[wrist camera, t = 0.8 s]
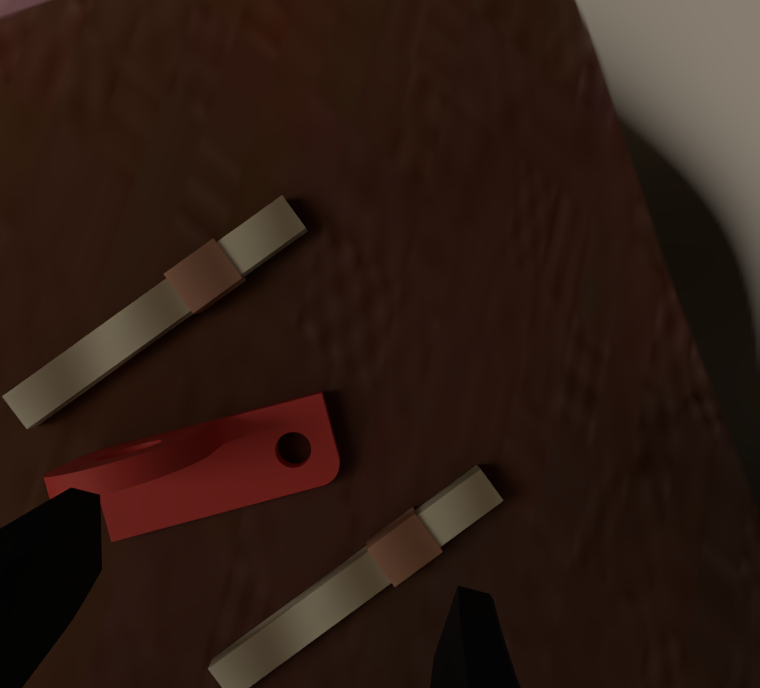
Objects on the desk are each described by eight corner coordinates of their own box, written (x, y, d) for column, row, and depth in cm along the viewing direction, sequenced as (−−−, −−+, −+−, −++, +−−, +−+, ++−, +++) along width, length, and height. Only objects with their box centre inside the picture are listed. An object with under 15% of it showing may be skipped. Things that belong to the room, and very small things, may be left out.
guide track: (237, 691, 32) (233, 705, 31) (11, 391, 31) (-3, 393, 30) (501, 498, 32) (506, 504, 31) (282, 196, 31) (279, 191, 30)
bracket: (120, 534, 32) (40, 602, 24) (97, 450, 32) (9, 489, 24) (345, 474, 32) (340, 521, 24) (322, 390, 32) (311, 410, 24)
